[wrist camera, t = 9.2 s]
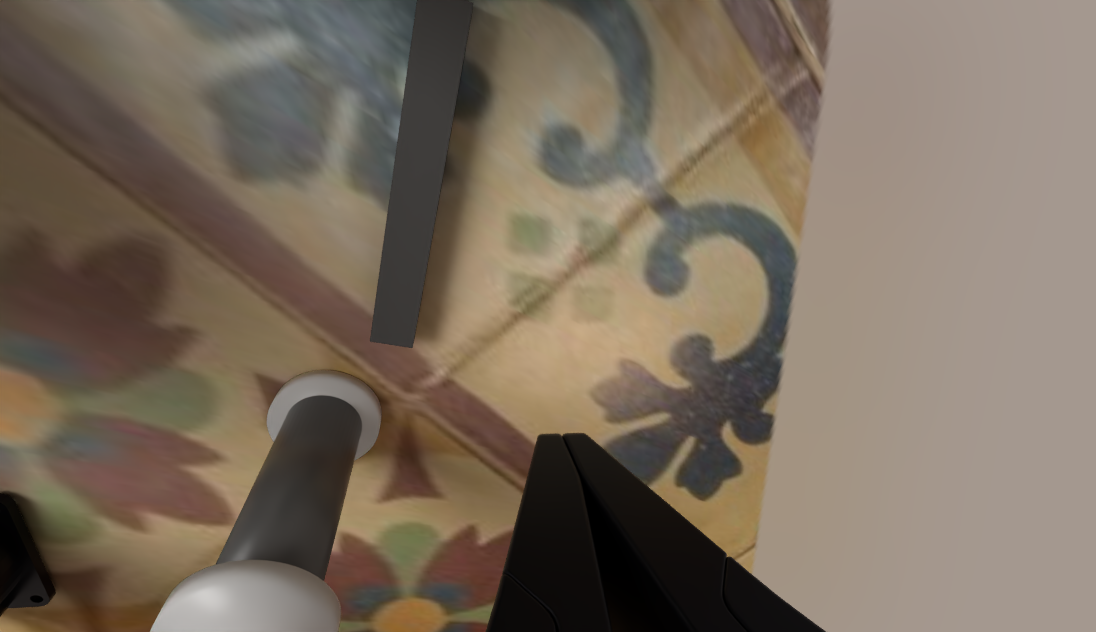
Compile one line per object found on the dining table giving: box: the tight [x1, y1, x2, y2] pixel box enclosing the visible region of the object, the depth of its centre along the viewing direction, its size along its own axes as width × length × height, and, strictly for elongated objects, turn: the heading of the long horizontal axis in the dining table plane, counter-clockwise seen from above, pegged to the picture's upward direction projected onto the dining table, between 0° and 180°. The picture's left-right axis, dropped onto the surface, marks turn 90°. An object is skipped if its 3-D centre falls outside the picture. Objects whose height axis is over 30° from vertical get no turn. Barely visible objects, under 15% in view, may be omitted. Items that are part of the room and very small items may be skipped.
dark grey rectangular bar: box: [370, 0, 473, 348], centre depth 18 cm, size 12×2×2 cm, turn 165°
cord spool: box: [150, 370, 382, 632], centre depth 18 cm, size 4×4×10 cm
